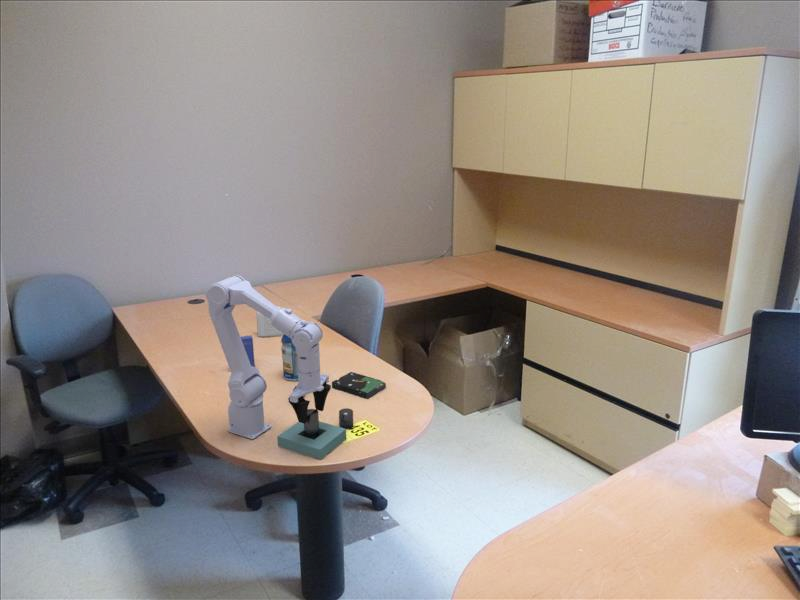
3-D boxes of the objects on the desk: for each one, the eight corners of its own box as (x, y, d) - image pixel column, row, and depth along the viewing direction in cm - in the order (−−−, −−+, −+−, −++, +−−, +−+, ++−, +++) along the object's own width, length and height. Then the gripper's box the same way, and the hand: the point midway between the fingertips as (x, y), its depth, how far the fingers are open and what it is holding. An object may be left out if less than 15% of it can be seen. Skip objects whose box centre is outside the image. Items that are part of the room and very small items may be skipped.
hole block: (278, 446, 158) (277, 436, 157) (305, 426, 168) (304, 417, 167) (320, 459, 151) (320, 449, 150) (346, 438, 161) (346, 428, 160)
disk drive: (331, 390, 192) (367, 400, 184) (331, 382, 191) (367, 392, 183) (351, 378, 200) (386, 388, 192) (350, 371, 199) (386, 380, 191)
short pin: (336, 427, 167) (336, 413, 166) (344, 421, 171) (343, 407, 169) (348, 430, 166) (348, 416, 164) (355, 424, 169) (355, 410, 168)
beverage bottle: (305, 381, 196) (302, 325, 190) (280, 381, 196) (277, 325, 191) (310, 371, 204) (307, 317, 198) (285, 371, 205) (282, 316, 199)
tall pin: (301, 443, 159) (300, 413, 156) (311, 436, 162) (310, 407, 159) (312, 447, 157) (311, 417, 154) (322, 441, 160) (321, 411, 157)
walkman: (253, 365, 209) (251, 334, 205) (254, 368, 207) (252, 336, 203) (230, 369, 206) (227, 337, 202) (232, 372, 204) (229, 340, 200)
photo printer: (283, 332, 242) (281, 304, 238) (283, 336, 238) (281, 307, 234) (257, 334, 240) (255, 305, 236) (257, 338, 236) (255, 308, 232)
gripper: (304, 382, 145) (306, 431, 149) (337, 362, 157) (338, 408, 161) (281, 377, 148) (284, 424, 152) (316, 357, 161) (317, 402, 165)
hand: (311, 415), depth 157 cm, fingers open, 7 cm apart
